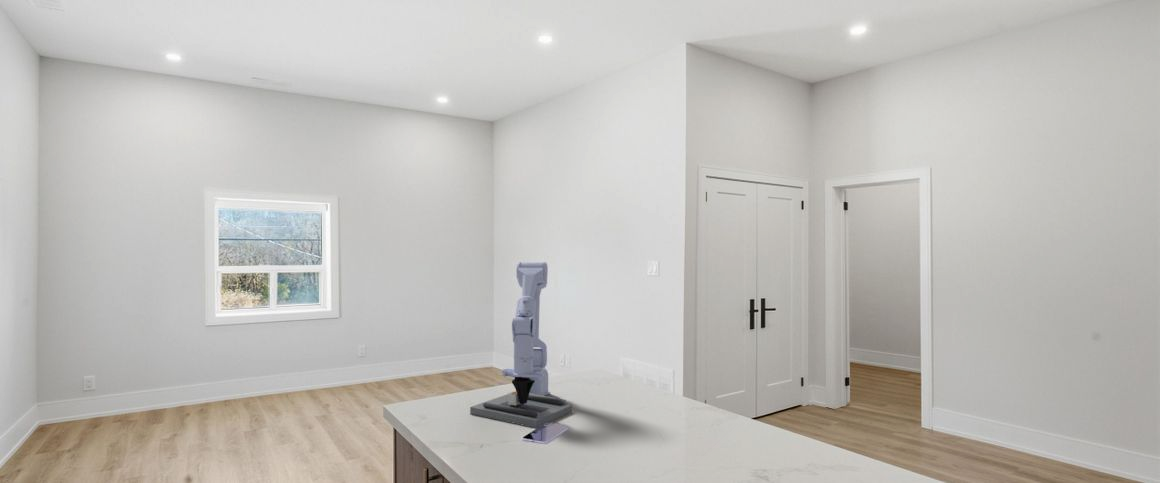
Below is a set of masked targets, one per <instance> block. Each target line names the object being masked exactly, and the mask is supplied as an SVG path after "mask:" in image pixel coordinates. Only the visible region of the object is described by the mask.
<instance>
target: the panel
mask: <svg viewBox="0 0 1160 483" xmlns="http://www.w3.org/2000/svg"><path fill="white" fill-rule="evenodd" d="M484 403H491V404H496V405H501V406H506V407H512V408H517V409H522V410H527V411H532V412H536V413H537V414H538V415H537V417H530V416H525V415H520V414H515V413H510V412H505V411H501V410H496V409H491V408H486V407H484V406H483V404H484ZM469 409H470V411H469V412H470V413H469V414H470V415H473V416H478V417H479V416H480V417H483V418H488V419H493V420H497V421H502V420H503V421H502V422H506V421H509V422H508V423H511V422H514V423H513V424H516V423H519V424H518V425H520V424H523V425H522V426H525V425H526V426H525V427H530V428H534V429H537V428H538V427H540V426H542V425H543V424H545V423H548V422H549V423H551V422H552V421H555V420H557V419H559V418H561V417H563V416H566V415H568V414H571V413H572V412H573V405H572V404H568V403H566V404H561V405H556V404H550V403H545V402H539V401H534V400H527V403H525V404H519V405H516V406H514V405H509V404H508V393H507V394H504V395H502V396H499V397H496V398H492V399H491V400H487V401H483V402H481V403H479V404H475V405H472V406H470V408H469Z"/></svg>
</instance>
